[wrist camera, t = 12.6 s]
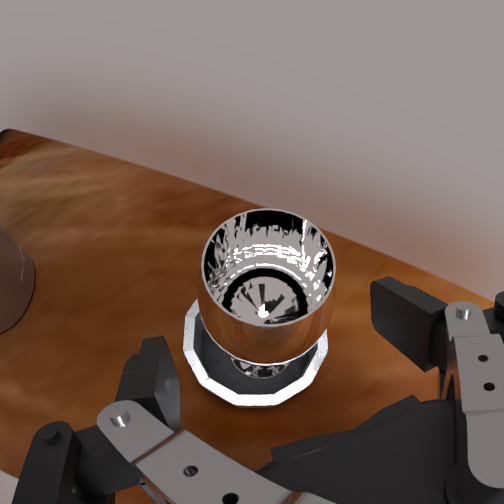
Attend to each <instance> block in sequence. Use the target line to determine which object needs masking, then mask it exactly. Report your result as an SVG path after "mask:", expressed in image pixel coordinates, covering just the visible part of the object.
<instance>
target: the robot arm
mask: <svg viewBox="0 0 504 504" xmlns="http://www.w3.org/2000/svg"><path fill="white" fill-rule="evenodd" d="M34 281H35V273H34V267H33V263H32V261H31V259H30V257H29V256H28V255H27V254H26V253H25V252H24V251H23V250H22V248H21V247H20V245H19V244H17V243H16V242H15V241H14V240H13V239H12V237H11V236H10V235H9V234H8V233H7V232H6V231H5V229H4V228H3V227H2V226H1V225H0V333H1V332H4V331H6V330H8V329H9V328H11V327H12V326H13V325H14V324H15V323H16V322H17V321H18V320H19V319H20V317H21V316H22V315H23V313H24V311H25V310H26V308H27V306H28V304H29V301H30V299H31V296H32V292H33V289H34ZM370 295H371V319H372V323H373V326H374V328H375V330H376V331H377V332H378V333H379V334H380V335H381V336H383V337H384V338H385V339H386V340H387V341H389V342H390V343H391V344H392V345H393V346H394V347H396V348H397V349H398V350H399V351H400V352H402V353H403V354H404V355H405V356H406V357H407V358H409V359H410V360H411V361H412V362H413V363H414V364H416V365H417V366H418V367H419V368H420V369H421V370H423V371H424V372H427V371H429V370H431V369H433V368H434V367H436V366H437V367H438V374H437V388H438V399H437V400H429V401H424V402H420V401H419V400H418V399H417V398H416V397H415V396H414V395H411V396H409V397H407V398H405V399H403V400H401V401H398V402H396V403H394V404H392V405H390V406H388V407H386V408H383V409H382V410H380V411H379V412H378V413H376V414H375V415H373V416H372V417H371V418H369V419H368V420H366V421H365V422H363V423H362V424H360V425H359V426H357V427H356V428H354V429H352V430H349V431H345V432H339V433H333V434H327V435H321V436H314V437H309V438H305V439H302V440H299V441H296V442H293V443H289V444H286V445H283V446H279V447H276V448H272V449H271V452H272V456H273V460H272V461H270V462H268V463H266V464H264V465H263V466H261V467H260V468H258V469H257V470H256V471H254V472H253V471H251V470H249V469H247V468H246V467H244V466H242V465H240V464H239V463H237V462H235V461H234V460H232V459H230V458H229V457H227V456H225V455H224V454H222V453H220V452H219V451H217V450H216V449H214V448H212V447H211V446H209V445H208V444H206V443H205V442H203V441H202V440H200V439H199V438H197V437H196V436H194V435H193V434H191V433H190V432H188V431H187V430H185V429H182V428H181V422H180V383H179V378H178V374H177V371H176V368H175V365H174V363H173V360H172V357H171V354H170V351H169V349H168V346H167V343H166V340H165V338H164V336H158V337H153V338H148V339H143V341H142V346H141V350H140V354H135V355H132V356H131V357H130V358H129V360H128V361H127V362H126V363H125V366H124V369H123V374H122V377H121V381H120V384H119V388H118V391H117V395H116V399H115V403H112V404H110V405H108V406H107V407H105V408H104V409H103V410H102V411H101V412H100V414H99V415H98V417H97V425H95V426H93V427H90V428H87V429H84V430H80V431H77V432H74V431H73V429H72V428H71V426H70V425H69V424H68V423H66V422H61V421H56V422H52V423H49V424H47V425H45V426H43V427H42V428H40V429H39V430H38V431H37V432H36V434H35V435H34V437H33V440H32V443H31V445H30V448H29V451H28V454H27V457H26V459H25V462H24V465H23V468H22V471H21V474H20V477H19V481H18V484H17V487H16V490H15V494H14V497H13V501H12V504H115V492H117V491H120V490H123V489H126V488H129V487H132V486H135V485H139V486H140V487H141V488H142V489H143V490H144V491H145V492H146V493H147V494H148V495H149V496H150V497H151V498H152V499H153V500H154V501H155V502H156V503H157V504H504V291H503V292H500V293H498V294H497V295H496V298H495V305H494V308H490V309H486V310H482V309H481V308H480V307H479V306H478V305H476V304H474V303H470V302H455V303H452V304H450V305H448V304H446V303H444V302H442V301H441V300H439V299H437V298H435V297H433V296H430V295H429V294H427V293H426V292H423V291H422V290H420V289H418V288H416V287H414V286H410V285H405V284H403V283H401V282H400V281H398V280H396V279H394V278H392V277H390V276H388V277H385V278H382V279H379V280H375V281H373V282H372V283H371V285H370Z"/></svg>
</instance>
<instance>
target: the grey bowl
mask: <svg viewBox="0 0 504 504" xmlns="http://www.w3.org/2000/svg"><path fill="white" fill-rule="evenodd" d="M186 315H187V316H186V317H185V330H184V344H183V351H184V354H185V356H186V358H187V360H188V362H189V363H190V365H191V367H192V369H193V371H194V373H195V375H196V377H197V379H198V380H199V382H200V384H201V385H202V386H203V387H204V388H206V389H207V390H208V391H209V392H211V393H213V394H214V395H216V396H218V397H219V398H221V399H222V400H224V401H226V402H228V403H230V404H232V405H233V406H235V407H238V408H252V409H258V408H272V407H275V406H277V405H279V404H280V403H282V402H284V401H286V400H287V399H289V398H290V397H292V396H294V395H295V394H297V393H299V392H300V391H302V390H303V389H305V388H306V387H307V386H309V385H310V384H311V383H312V381H313V379H314V377H315V375H316V373H317V371H318V369H319V367H320V365H321V364H322V362H323V360H324V358H325V356H326V354H327V352H328V351H327V350H328V344H327V332H326V330H325V331H324V333H323V335H322V336H321V337H320V339H319V340H318V341H317V343H316V344H315V345H314V346H313V347H312V348H311V349H310V350H309V351H307V352H306V353H305V354H304V355H302V356H300V357H299V358H297V359H295V360H293V361H291V362H290V363H289V365H288V366H287V367H286V369H285V370H284V371H283V372H281V373H280V374H278V375H276V376H274V377H271V378H267V379H255V378H251V377H248V376H246V375H244V374H243V373H241V372H240V371H239V370H238V369H237V368H236V367H235V366H234V365H233V363H232V361H231V359H230V356H229V355H227V354H226V353H225V352H223V351H222V350H221V349H220V348H219V347H218V346H217V345H216V344H215V343H214V342H213V340H212V339H211V338H210V336H209V335H208V333H207V331H206V329H205V327H204V324H203V322H202V319H201V316H200V311H199V307H198V299H196V301H195V302H194V304H193V305H192V307H191V308H190V309H189V311H188V312H187V314H186Z"/></svg>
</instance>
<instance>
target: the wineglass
mask: <svg viewBox="0 0 504 504" xmlns="http://www.w3.org/2000/svg"><path fill="white" fill-rule="evenodd" d="M335 296H336V265H335V257H334V254H333V251H332V248H331V246H330V244H329V242H328V241H327V239H326V237H325V236H324V235H323V233H322V232H321V231H320V230H319V229H318V228H317V227H316V226H315V225H313V224H312V223H311V222H309V221H308V220H307V219H305V218H303V217H301V216H299V215H297V214H295V213H292V212H288V211H284V210H280V209H269V208H263V209H255V210H250V211H246V212H243V213H240V214H237V215H236V216H234V217H232V218H230V219H229V220H227V221H225V222H224V223H223V224H221V225H220V226H219V227H218V228H217V229H216V230H215V231H214V233H213V234H212V235H211V237H210V238H209V240H208V242H207V244H206V246H205V249H204V252H203V255H202V258H201V263H200V269H199V274H198V284H197V299H198V307H199V311H200V316H201V319H202V322H203V324H204V327H205V329H206V331H207V333H208V335H209V336H210V338H211V339H212V340H213V342H214V343H215V344H216V345H217V346H218V347H219V348H220V349H221V350H222V351H223V352H225V353H226V354H227V355H229V356H230V359H231V361H232V363H233V365H234V366H235V367H236V368H237V369H238V370H239V371H240V372H241V373H243V374H244V375H246V376H248V377H251V378H255V379H267V378H271V377H274V376H276V375H278V374H280V373H281V372H283V371H284V370H285V369H286V367H287V366H288V365H289V363H290V362H291V361H293V360H295V359H297V358H299V357H300V356H302V355H304V354H305V353H306V352H307V351H309V350H310V349H311V348H312V347H313V346H314V345H315V344H316V343H317V341H318V340H319V339H320V337H321V336H322V335H323V333H324V331H325V330H326V328H327V326H328V324H329V321H330V318H331V315H332V312H333V308H334V303H335Z"/></svg>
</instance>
